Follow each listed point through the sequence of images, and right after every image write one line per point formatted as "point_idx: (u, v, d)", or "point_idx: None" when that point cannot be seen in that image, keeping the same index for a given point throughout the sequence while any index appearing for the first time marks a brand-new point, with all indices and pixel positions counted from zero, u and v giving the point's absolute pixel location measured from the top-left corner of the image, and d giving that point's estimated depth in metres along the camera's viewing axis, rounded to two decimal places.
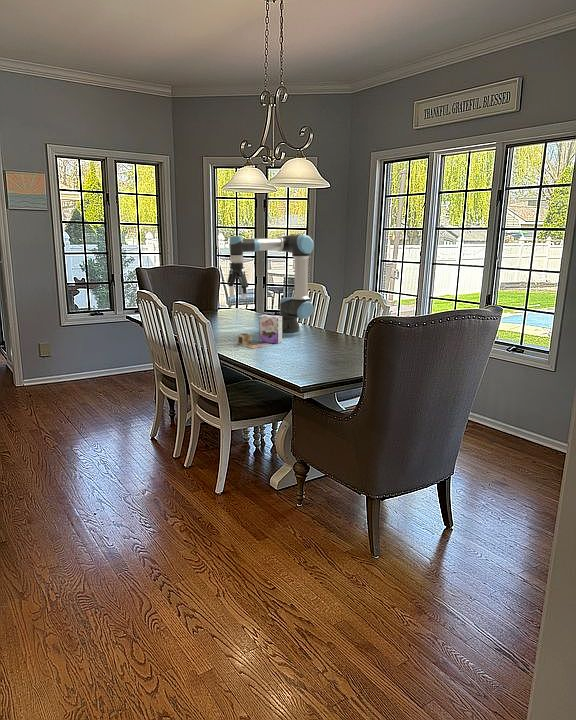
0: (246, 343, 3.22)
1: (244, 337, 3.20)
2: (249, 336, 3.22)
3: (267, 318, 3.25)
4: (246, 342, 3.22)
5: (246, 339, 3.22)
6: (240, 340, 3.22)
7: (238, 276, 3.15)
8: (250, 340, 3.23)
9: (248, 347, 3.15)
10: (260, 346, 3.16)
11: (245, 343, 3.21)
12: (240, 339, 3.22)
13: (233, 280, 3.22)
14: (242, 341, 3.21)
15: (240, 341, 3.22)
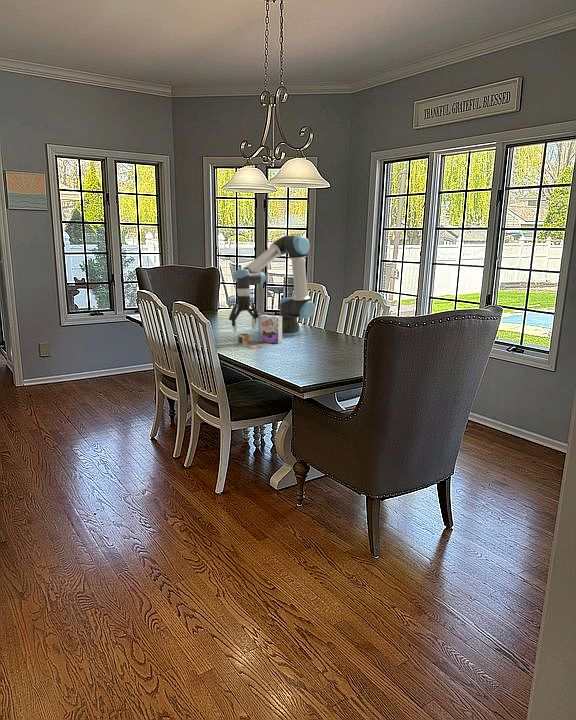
0: (246, 343, 3.22)
1: (244, 337, 3.20)
2: (249, 336, 3.22)
3: (267, 318, 3.25)
4: (246, 342, 3.22)
5: (246, 339, 3.22)
6: (240, 340, 3.22)
7: (238, 308, 3.19)
8: (250, 340, 3.23)
9: (248, 347, 3.15)
10: (260, 346, 3.16)
11: (245, 343, 3.21)
12: (240, 339, 3.22)
13: (250, 312, 3.23)
14: (242, 341, 3.21)
15: (240, 341, 3.22)
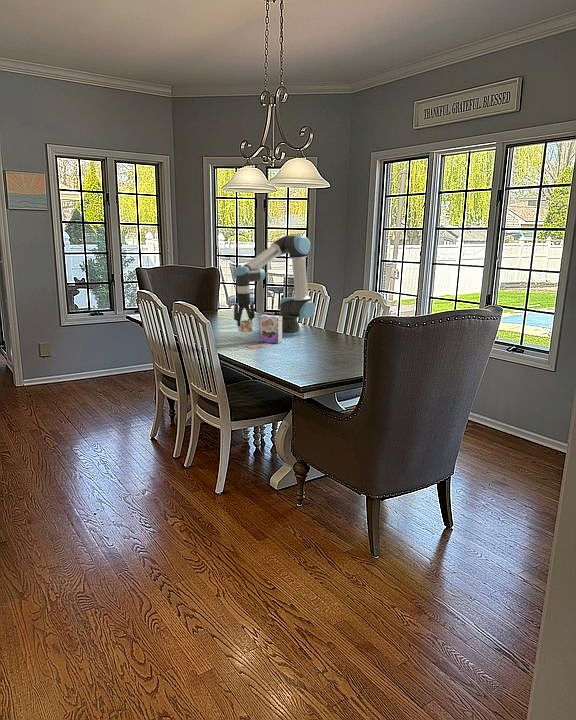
0: (246, 330, 3.20)
1: (244, 324, 3.19)
2: (249, 323, 3.21)
3: (267, 318, 3.25)
4: (247, 328, 3.20)
5: (247, 326, 3.20)
6: None
7: (239, 307, 3.19)
8: (250, 327, 3.22)
9: (248, 347, 3.15)
10: (260, 346, 3.16)
11: (245, 330, 3.20)
12: None
13: (247, 311, 3.22)
14: (242, 328, 3.19)
15: None
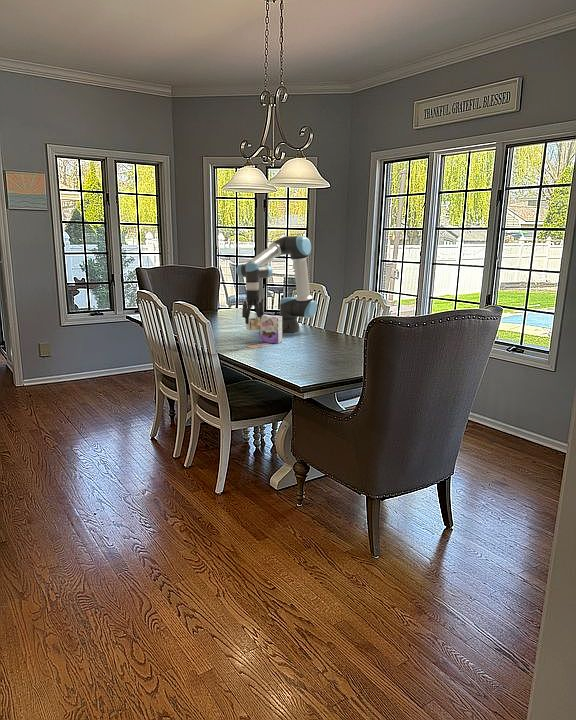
0: (255, 328, 3.11)
1: (253, 321, 3.09)
2: (258, 320, 3.11)
3: (267, 318, 3.25)
4: (255, 326, 3.11)
5: (255, 324, 3.11)
6: None
7: (247, 304, 3.10)
8: (259, 325, 3.12)
9: (248, 347, 3.15)
10: (260, 346, 3.16)
11: (254, 328, 3.10)
12: None
13: (256, 309, 3.13)
14: (251, 326, 3.10)
15: None
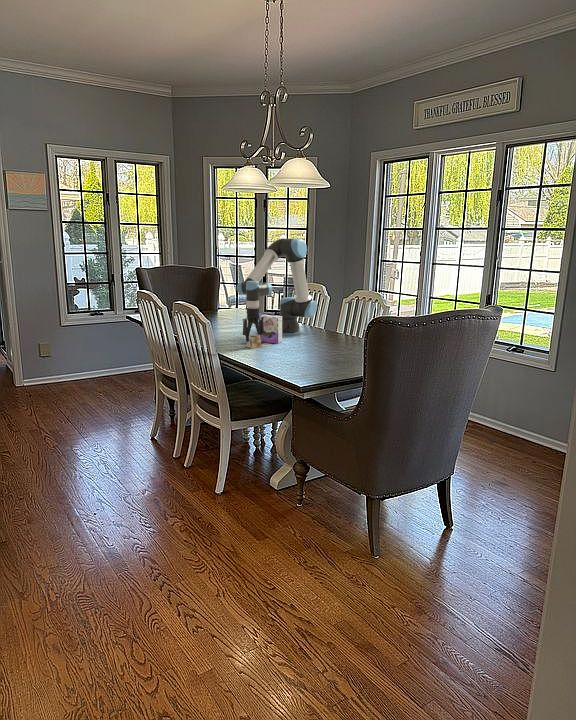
0: (255, 345, 3.13)
1: (253, 339, 3.12)
2: (258, 338, 3.14)
3: (267, 318, 3.25)
4: (256, 344, 3.13)
5: (256, 341, 3.13)
6: None
7: (248, 322, 3.12)
8: (259, 342, 3.15)
9: (248, 347, 3.15)
10: None
11: (254, 345, 3.13)
12: None
13: (256, 327, 3.15)
14: (251, 343, 3.12)
15: None
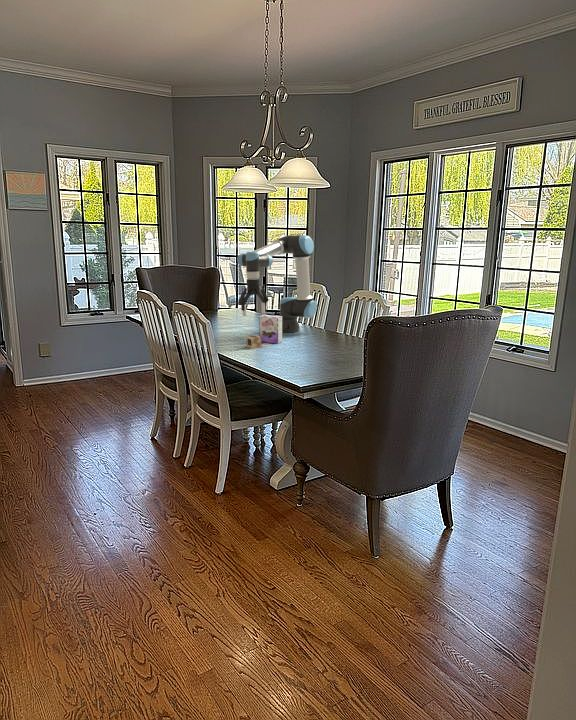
0: (255, 345, 3.13)
1: (253, 339, 3.12)
2: (258, 338, 3.14)
3: (267, 318, 3.25)
4: (256, 344, 3.13)
5: (256, 341, 3.13)
6: (249, 342, 3.14)
7: (247, 292, 3.10)
8: (259, 342, 3.15)
9: (248, 347, 3.15)
10: None
11: (254, 345, 3.13)
12: (249, 341, 3.13)
13: (259, 297, 3.14)
14: (251, 343, 3.12)
15: (249, 343, 3.14)
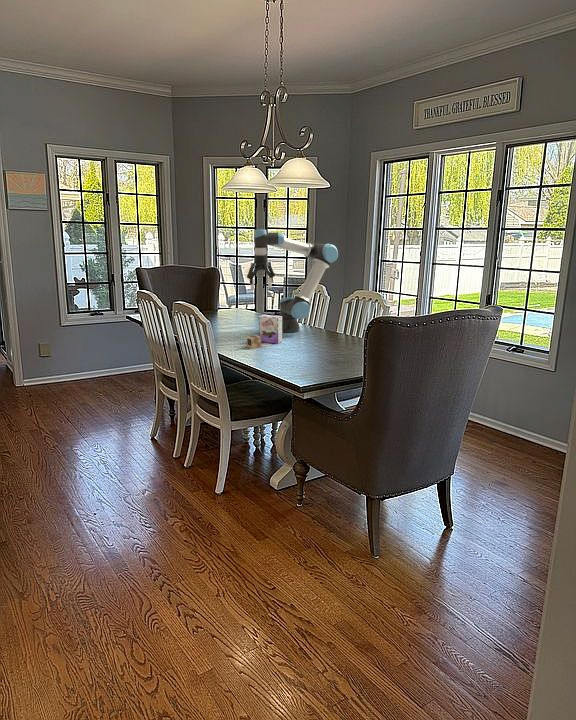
0: (255, 345, 3.13)
1: (253, 339, 3.12)
2: (258, 338, 3.14)
3: (267, 318, 3.25)
4: (256, 344, 3.13)
5: (256, 341, 3.13)
6: (249, 342, 3.14)
7: (255, 267, 3.33)
8: (259, 342, 3.15)
9: (248, 347, 3.15)
10: None
11: (254, 345, 3.13)
12: (249, 341, 3.13)
13: (266, 272, 3.37)
14: (251, 343, 3.12)
15: (249, 343, 3.14)
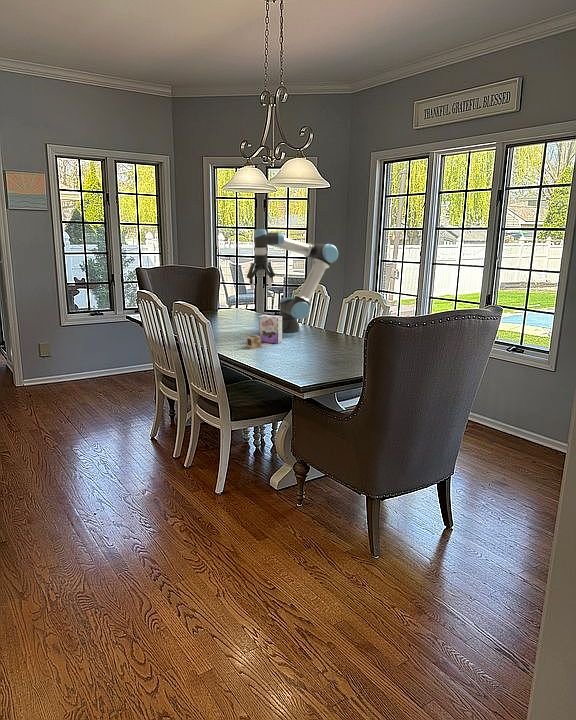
0: (255, 345, 3.13)
1: (253, 339, 3.12)
2: (258, 338, 3.14)
3: (267, 318, 3.25)
4: (256, 344, 3.13)
5: (256, 341, 3.13)
6: (249, 342, 3.14)
7: (255, 267, 3.33)
8: (259, 342, 3.15)
9: (248, 347, 3.15)
10: None
11: (254, 345, 3.13)
12: (249, 341, 3.13)
13: (266, 272, 3.37)
14: (251, 343, 3.12)
15: (249, 343, 3.14)
